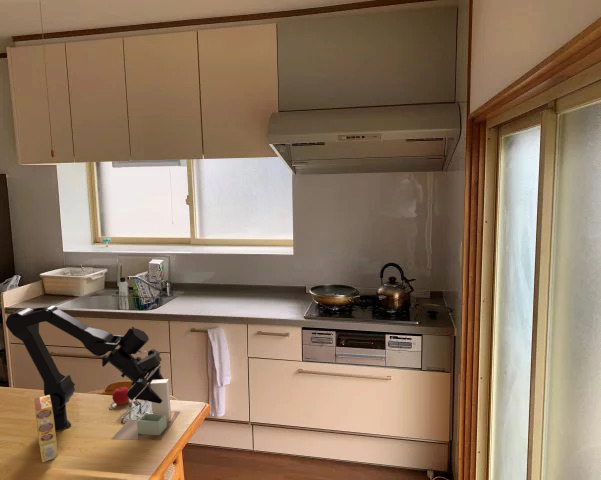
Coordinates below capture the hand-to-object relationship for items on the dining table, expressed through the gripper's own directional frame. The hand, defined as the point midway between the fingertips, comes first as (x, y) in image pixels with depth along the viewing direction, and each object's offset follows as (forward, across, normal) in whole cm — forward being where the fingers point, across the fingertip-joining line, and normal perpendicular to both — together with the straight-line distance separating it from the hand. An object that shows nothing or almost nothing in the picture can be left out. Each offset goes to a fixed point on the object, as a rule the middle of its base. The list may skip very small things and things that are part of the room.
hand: (164, 395), depth 143 cm
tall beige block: (+4, 0, +6) cm, 7 cm away
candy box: (-15, -14, +27) cm, 34 cm away
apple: (-7, +12, +19) cm, 23 cm away
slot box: (+4, -7, +7) cm, 11 cm away
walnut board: (+2, -4, +9) cm, 10 cm away
